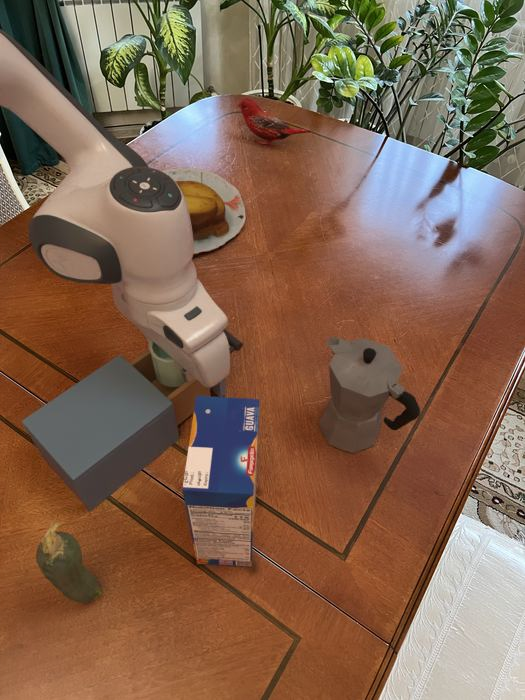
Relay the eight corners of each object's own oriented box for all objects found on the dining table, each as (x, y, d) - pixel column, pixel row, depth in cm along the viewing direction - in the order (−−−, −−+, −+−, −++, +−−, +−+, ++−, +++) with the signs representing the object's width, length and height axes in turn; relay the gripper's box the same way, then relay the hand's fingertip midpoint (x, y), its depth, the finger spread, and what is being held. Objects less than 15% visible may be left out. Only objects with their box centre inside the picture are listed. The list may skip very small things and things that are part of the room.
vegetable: (72, 617, 68) (20, 561, 52) (65, 582, 70) (13, 519, 55) (109, 601, 69) (69, 543, 53) (100, 568, 72) (59, 502, 56)
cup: (146, 370, 83) (140, 344, 78) (177, 348, 85) (173, 322, 81) (172, 394, 80) (168, 369, 76) (203, 370, 83) (201, 345, 78)
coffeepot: (295, 416, 86) (305, 340, 72) (337, 382, 90) (354, 304, 76) (374, 487, 79) (402, 418, 65) (416, 446, 83) (451, 373, 69)
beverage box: (197, 565, 72) (182, 490, 55) (206, 484, 79) (196, 395, 62) (251, 568, 72) (253, 494, 55) (256, 486, 79) (259, 398, 62)
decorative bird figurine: (239, 134, 133) (239, 92, 125) (311, 153, 129) (315, 111, 121) (234, 140, 132) (233, 99, 124) (306, 159, 128) (310, 117, 120)
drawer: (206, 337, 94) (203, 304, 88) (250, 373, 90) (251, 342, 84) (107, 409, 85) (96, 378, 79) (151, 453, 81) (143, 424, 74)
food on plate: (222, 170, 124) (221, 143, 119) (265, 242, 110) (266, 215, 105) (106, 194, 118) (100, 167, 113) (135, 274, 104) (130, 247, 99)
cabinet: (130, 392, 88) (119, 353, 80) (179, 439, 83) (173, 403, 76) (41, 456, 81) (20, 421, 73) (89, 512, 76) (72, 480, 69)
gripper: (91, 264, 73) (111, 333, 84) (197, 354, 65) (204, 419, 75) (130, 241, 76) (145, 311, 87) (237, 325, 67) (238, 391, 78)
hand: (173, 362), depth 81 cm, fingers closed on cup, 6 cm apart
